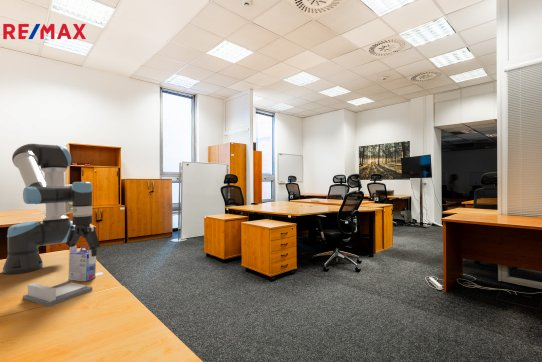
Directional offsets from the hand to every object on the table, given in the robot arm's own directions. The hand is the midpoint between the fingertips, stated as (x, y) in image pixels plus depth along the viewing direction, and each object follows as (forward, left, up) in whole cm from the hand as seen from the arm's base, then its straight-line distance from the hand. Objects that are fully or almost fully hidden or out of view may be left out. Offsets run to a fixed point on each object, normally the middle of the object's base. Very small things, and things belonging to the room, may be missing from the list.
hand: (82, 262), depth 127 cm
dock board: (+9, -15, -8) cm, 19 cm away
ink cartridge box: (0, 0, -8) cm, 8 cm away
